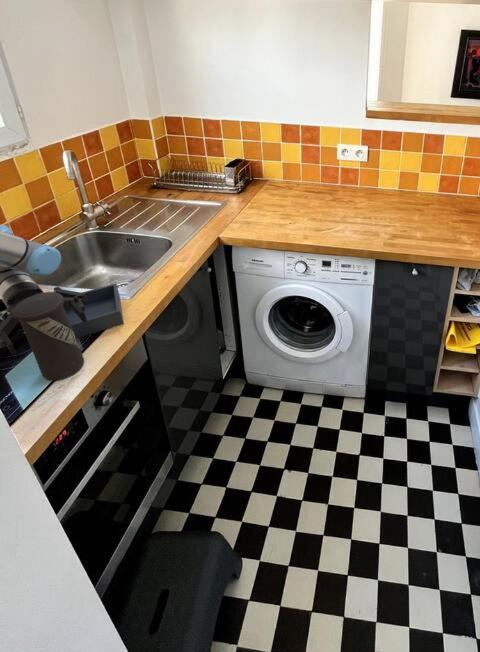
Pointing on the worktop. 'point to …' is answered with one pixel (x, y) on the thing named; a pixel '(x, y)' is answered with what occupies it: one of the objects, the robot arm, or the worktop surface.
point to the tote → (97, 311)
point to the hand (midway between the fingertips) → (50, 332)
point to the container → (50, 335)
